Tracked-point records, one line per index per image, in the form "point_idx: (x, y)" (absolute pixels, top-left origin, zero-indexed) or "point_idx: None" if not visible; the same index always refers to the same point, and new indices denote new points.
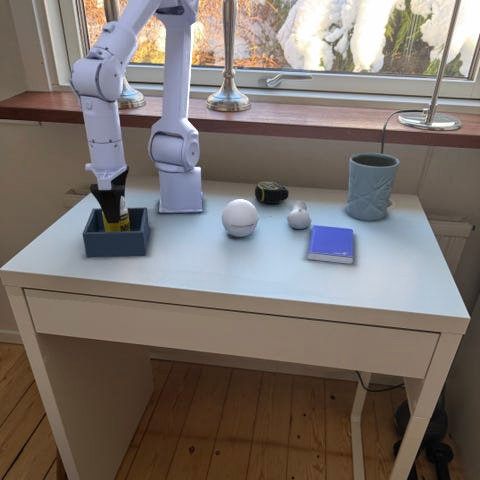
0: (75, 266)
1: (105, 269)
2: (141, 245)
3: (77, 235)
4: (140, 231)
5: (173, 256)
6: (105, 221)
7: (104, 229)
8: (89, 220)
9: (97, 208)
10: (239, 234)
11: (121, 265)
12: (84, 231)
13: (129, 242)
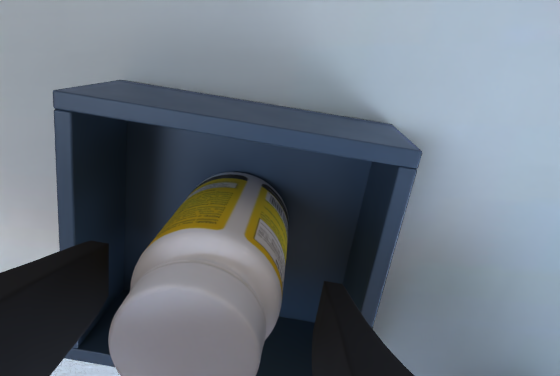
0: (44, 31)
1: (19, 151)
2: None
3: (359, 30)
4: (73, 350)
5: (106, 366)
6: (173, 220)
7: (365, 165)
8: (232, 130)
9: (409, 180)
10: None
11: (49, 208)
12: (81, 102)
13: None
